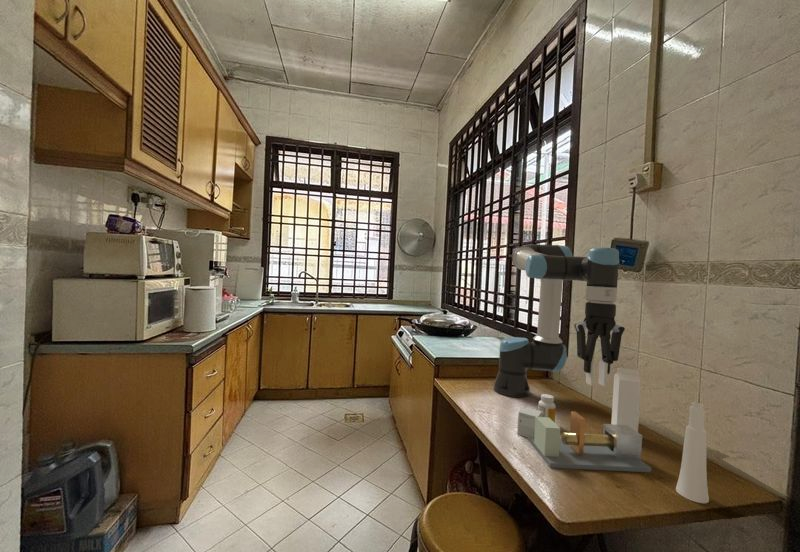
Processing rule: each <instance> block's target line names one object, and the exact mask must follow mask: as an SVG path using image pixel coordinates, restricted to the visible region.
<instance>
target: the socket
mask: <svg viewBox="0 0 800 552" xmlns="http://www.w3.org/2000/svg"><path fill="white" fill-rule="evenodd" d="M561 429H562V428H560V426H559V425H558V424H557V423H554V422H553V421H552V420H551V419H550V418H549V417H536V418H535V435H534V444H535V445H536V446H537V447H538V449H539V450H540V451H541V452H542V453H543V455H544V456H556V457H559V447H560V439H561Z"/></svg>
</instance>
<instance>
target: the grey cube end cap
mask: <svg viewBox="0 0 800 552" xmlns="http://www.w3.org/2000/svg"><path fill="white" fill-rule="evenodd" d="M602 434H606V435H612V436H614V447H603V448H604V449H605V450H606V451H607V452H608V453H610V454H611V455H612V456H613V457H614V458H616V459H632V460H642V446H643V435H642V434H641V433H639V431H638V432H636V431H635V430H633V429H632V428H630V427H629V426H627V425H615V424H611V423H602Z"/></svg>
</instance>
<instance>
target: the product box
mask: <svg viewBox="0 0 800 552" xmlns="http://www.w3.org/2000/svg"><path fill="white" fill-rule="evenodd" d="M517 414H518V417H517V418H518V419H517V431H516V432H517V433H516V434H517V435H518V436H519V435H520V436H521V437H526V438H527V439H528V438H529V437H533V438H534V435H535V418H536V417H542V411H538V409H535V408H531V407H527V406H522V407H521V409H520V410H519V411H518V413H517Z"/></svg>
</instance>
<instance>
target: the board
mask: <svg viewBox="0 0 800 552" xmlns="http://www.w3.org/2000/svg"><path fill="white" fill-rule="evenodd" d="M528 441H529V443H530V444H531V446H532V447H533V448H534V450H535V451H536V452H537V453H538V454H539V456H540V457H541V458H542V459H543V461H544V462H545V463H546V464H547V466H548V467H549V468H551V469H569V470H573V469H574V470H592V471H593V470H594V471H595V470H596V471H612V472H613V471H615V472H616V471H617V472H636V473H637V472H638V473H652V467H651V466H650V465H649V464H647V463H646V462H644V461H643V460H642V459H641V460H632V459H616V458H614V457H613V456H612V455H611V454H610V453H608V452H607V451H606V450H605V449H604V448H603V447H600V446H584V449H583V455H579V454H578V453H577V452H576V451H575V450H574V449H573V448H572V447H571V446H569V445H564V444H563V442H562V438H560V447H559V457H556V456H544V455H543V453H542V452H541V451H540V450H539V449H538V447H537V446H536V445H535V444H534V438H533V437H529V439H528Z"/></svg>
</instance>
